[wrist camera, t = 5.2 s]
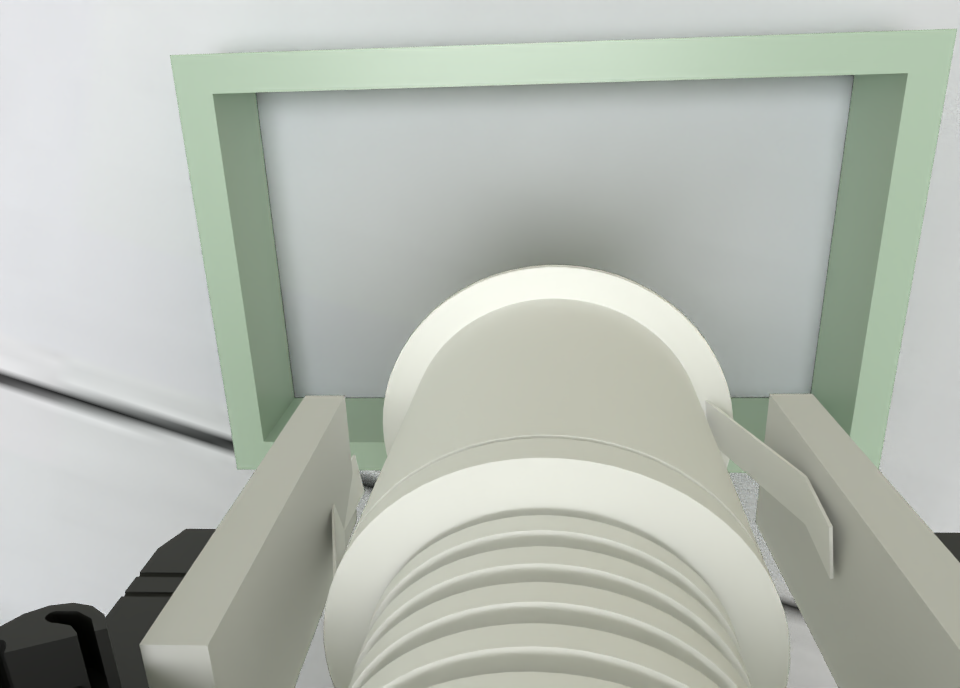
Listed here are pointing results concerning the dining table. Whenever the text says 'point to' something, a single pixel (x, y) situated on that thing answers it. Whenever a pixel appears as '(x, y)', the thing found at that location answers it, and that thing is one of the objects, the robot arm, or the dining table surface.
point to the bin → (867, 55)
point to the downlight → (561, 504)
